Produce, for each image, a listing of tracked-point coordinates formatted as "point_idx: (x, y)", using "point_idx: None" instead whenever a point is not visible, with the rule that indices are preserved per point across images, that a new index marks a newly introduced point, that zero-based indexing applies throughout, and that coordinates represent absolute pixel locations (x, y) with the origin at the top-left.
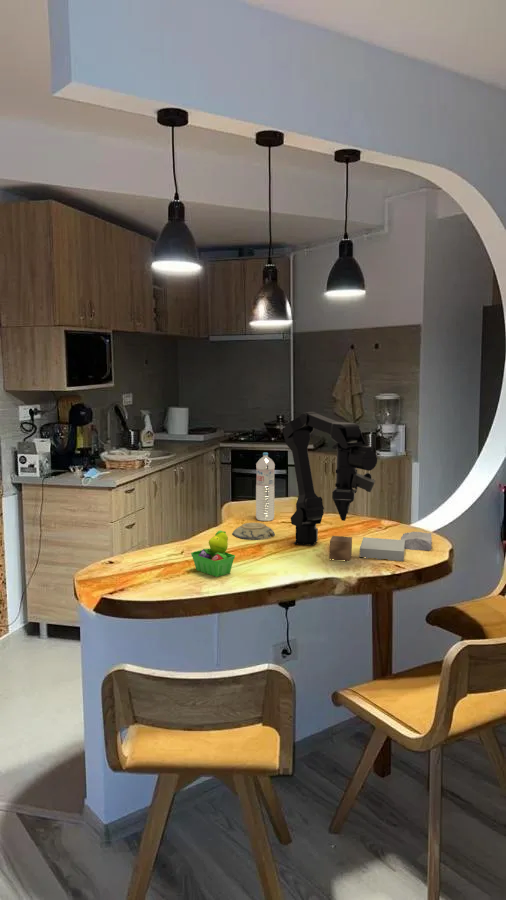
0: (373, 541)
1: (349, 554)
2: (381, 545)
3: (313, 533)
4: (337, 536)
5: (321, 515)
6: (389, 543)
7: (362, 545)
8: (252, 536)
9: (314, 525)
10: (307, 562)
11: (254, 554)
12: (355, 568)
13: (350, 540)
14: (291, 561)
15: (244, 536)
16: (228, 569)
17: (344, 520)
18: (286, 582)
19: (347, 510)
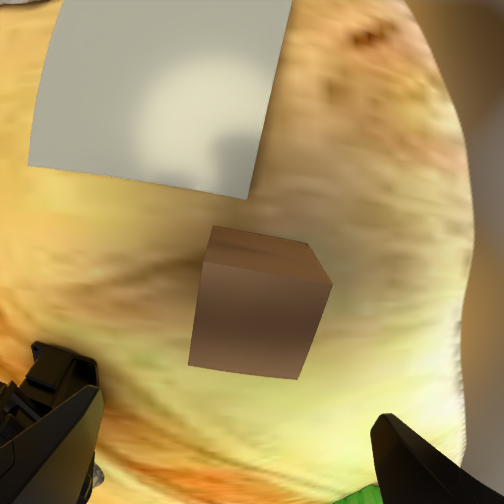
0: (95, 108)
1: (314, 256)
2: (178, 64)
3: (64, 387)
4: (198, 342)
5: (20, 421)
6: (134, 22)
7: (184, 177)
8: (94, 475)
9: (45, 405)
10: (311, 387)
11: (230, 480)
12: (399, 228)
13: (289, 278)
14: (297, 422)
15: (98, 483)
16: (377, 491)
17: (389, 417)
18: (457, 402)
19: (458, 468)
